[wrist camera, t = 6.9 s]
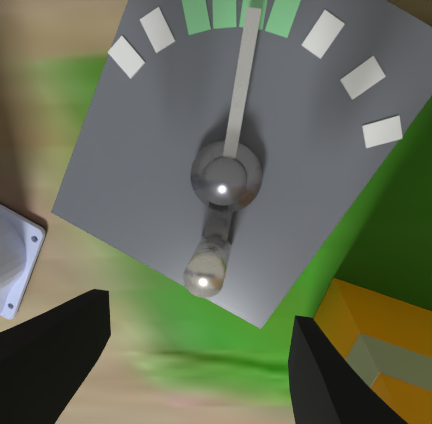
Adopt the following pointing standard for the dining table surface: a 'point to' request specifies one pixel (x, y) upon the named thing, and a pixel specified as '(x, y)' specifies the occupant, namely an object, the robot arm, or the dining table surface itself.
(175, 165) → the dial plate
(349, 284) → the orange juice
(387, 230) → the dining table surface
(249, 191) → the dial pointer
